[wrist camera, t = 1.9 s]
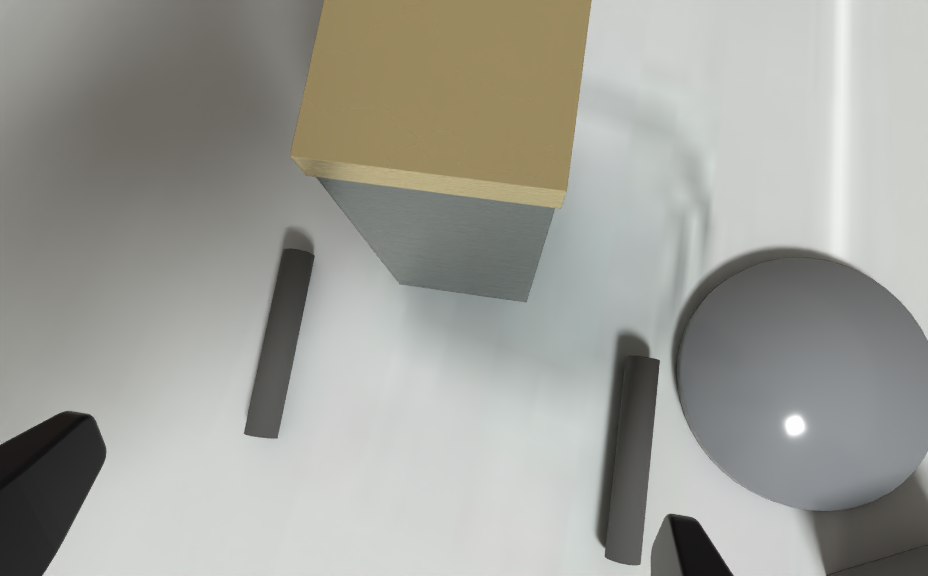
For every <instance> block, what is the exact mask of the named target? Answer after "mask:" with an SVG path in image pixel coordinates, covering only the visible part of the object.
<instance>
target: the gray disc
mask: <svg viewBox="0 0 928 576" xmlns="http://www.w3.org/2000/svg"><path fill="white" fill-rule="evenodd" d="M677 384H678V390H679V397H680V401H681V405H682V408H683V412H684V415H685V417H686V420H687V422H688V424H689V427H690V429H691V431H692V433H693V435H694V436H695V438H696V440H697V441H698V443H699V445H700V446H701V447H702V449H703V450H704V451H705V453H706V454H707V455H708V457H709V458H710V459H711V460H712V461H713V462H714V463H715V464H716V465H717V466H718V467H719V468H720V469H721V470H722V471H723V472H724V473H725V474H726V475H728V476H729V477H730V478H731V479H732V480H734V481H735V482H736V483H738V484H740V485H741V486H743V487H744V488H746V489H748V490H749V491H751V492H753V493H755V494H757V495H759V496H761V497H764V498H766V499H768V500H771V501H774V502H777V503H780V504H784V505H787V506H790V507H794V508H799V509H805V510H814V511H835V510H845V509H849V508H854V507H858V506H862V505H864V504H867V503H870V502H872V501H875V500H877V499H879V498H881V497H883V496H884V495H886V494H888V493H890V492H891V491H893V490H894V489H895V488H897V487H898V486H899V485H900V484H902V483H903V482H904V481H905V480H906V479H907V478H908V477H909V476H910V475H911V474H912V473H913V472H914V471H915V470H916V468H917V467H918V466H919V464H920V463H921V461H922V460H923V458H924V457H925V455H926V453H927V451H928V341H927V339H926V337H925V335H924V333H923V331H922V329H921V327H920V326H919V325H918V323H917V322H916V320H915V319H914V317H913V316H912V314H911V313H910V312H909V311H908V310H907V309H906V307H905V306H904V305H903V304H902V303H901V302H900V301H899V300H898V299H897V298H896V297H895V296H894V295H893V294H891V293H890V292H889V291H888V290H887V289H886V288H884V287H883V286H881V285H880V284H879V283H877V282H876V281H874V280H873V279H871V278H869V277H868V276H866V275H864V274H862V273H860V272H858V271H856V270H854V269H851V268H849V267H846V266H844V265H841V264H837V263H834V262H830V261H827V260H820V259H814V258H795V257H793V258H783V259H776V260H771V261H767V262H762V263H760V264H757V265H754V266H751V267H749V268H747V269H745V270H743V271H741V272H739V273H737V274H735V275H733V276H732V277H730V278H728V279H727V280H725V281H724V282H722V283H721V284H720V285H718V286H717V287H716V288H715V289H713V290H712V291H711V292H710V293H709V294H708V295H707V296H706V297H705V298H704V300H703V301H702V302H701V303H700V305H699V306H698V307H697V308H696V310H695V312H694V313H693V315H692V317H691V319H690V320H689V322H688V324H687V327H686V329H685V332H684V334H683V337H682V341H681V344H680V348H679V354H678V362H677Z"/></svg>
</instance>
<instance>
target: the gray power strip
mask: <svg viewBox="0 0 928 576" xmlns="http://www.w3.org/2000/svg"><path fill="white" fill-rule="evenodd" d="M827 576H928V545H927V546H923V547H920V548H917V549H913V550H910V551H907V552H903V553H900V554H897V555H893V556H890V557H887V558H883V559H880V560H877V561H873V562H870V563H867V564H863V565H860V566H857V567H853V568H850V569H847V570H843V571H840V572H836V573H833V574H830V575H827Z"/></svg>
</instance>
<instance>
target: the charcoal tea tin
mask: <svg viewBox="0 0 928 576" xmlns="http://www.w3.org/2000/svg"><path fill="white" fill-rule="evenodd" d="M590 8H591V0H324V3H323V7H322V12H321V17H320V21H319V26H318V30H317V35H316V39H315V44H314V49H313V53H312V58H311V62H310V67H309V71H308V76H307V81H306V85H305V90H304V94H303V99H302V103H301V108H300V112H299V117H298V122H297V126H296V131H295V135H294V140H293V144H292V149H291V154H290V156H291V158H292V159H293V160H294V161H295V162H296V164H297V165H298V166H299V167H300V169H301V170H302V171H303V172H304V173H305V175H306V176H314V177H317V179H318V180H319V181H320V183H321V184H322V185H323V186H324V188H325V189H326V190H327V192H328V193H329V194H330V195H331V197H332V198H333V199H334V200H335V202H336V203H337V204H338V206H339V207H340V208H341V209H342V211H343V212H344V213H345V215H346V216H347V217H348V218H349V220H350V221H351V222H352V224H353V225H354V226H355V227H356V229H357V230H358V231H359V233H360V234H361V235H362V236H363V238H364V239H365V240H366V241H367V243H368V244H369V245H370V247H371V248H372V249H373V250H374V252H375V253H376V254H377V256H378V257H379V258H380V259H381V261H382V262H383V263H384V265H385V266H386V267H387V268H388V270H389V271H390V272H391V273H392V275H393V276H394V277H395V279H396V280H397V281H398V282H399V284H402V285H409V286H416V287H423V288H430V289H437V290H444V291H451V292H458V293H465V294H472V295H479V296H486V297H493V298H500V299H507V300H514V301H521V302H527V299H528V295H529V292H530V289H531V286H532V282H533V279H534V276H535V272H536V269H537V266H538V263H539V259H540V256H541V253H542V249H543V246H544V243H545V239H546V236H547V233H548V230H549V226H550V223H551V220H552V216H553V213H554V210H555V208H559V209H561V207H562V204H563V201H564V198H565V195H566V192H567V186H568V178H569V170H570V162H571V155H572V147H573V139H574V132H575V124H576V116H577V108H578V101H579V93H580V85H581V77H582V70H583V62H584V54H585V46H586V39H587V31H588V23H589V16H590Z"/></svg>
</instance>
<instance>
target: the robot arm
mask: <svg viewBox="0 0 928 576" xmlns="http://www.w3.org/2000/svg"><path fill="white" fill-rule="evenodd" d="M105 458H106V446H105V443H104V441H103V438H102V436H101V433H100V430H99V428H98V425H97V423H96V420H95V419H94V417H93V416H91V415H90V414H85V413H79V412H73V411H65V412H62V413H59V414H57V415H55V416H53V417H51V418H50V419H48V420H46V421H44V422H42V423H40V424H38V425H36V426H35V427H33V428H31V429H29V430H27V431H25V432H23V433H21V434H20V435H18V436H16V437H14V438H12V439H10V440H8V441H6V442H5V443H3V444H1V445H0V576H42V575H43V574H44V572H45V571H46V569H47V568H48V566H49V564H50V563H51V561H52V559H53V558H54V556H55V555H56V553H57V551H58V549H59V548H60V546H61V544H62V542H63V541H64V539H65V537H66V535H67V533H68V531H69V529H70V527H71V525H72V523H73V522H74V520H75V518H76V516H77V514H78V512H79V510H80V508H81V506H82V504H83V502H84V500H85V499H86V497H87V495H88V493H89V491H90V489H91V487H92V485H93V483H94V481H95V479H96V477H97V475H98V474H99V472H100V470H101V468H102V466H103V464H104V461H105ZM651 576H733V574H732V573H731V571H730V569H729V568H728V566H727V565H726V563H725V562H724V560H723V559H722V557H721V556H720V554H719V552H718V551H717V549H716V548H715V546H714V545H713V543H712V542H711V540H710V539H709V537H708V535H707V534H706V532H705V531H704V529H703V528H702V526H701V525H700V523H699V522H698V521H697V520H696V519H694V518H692V517H688V516H682V515H676V514H668V515H667V516H666V517H665V518H664V520H663V522H662V525H661V527H660V529H659V532H658V534H657V536H656V539H655V541H654V543H653V546H652V551H651Z"/></svg>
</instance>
